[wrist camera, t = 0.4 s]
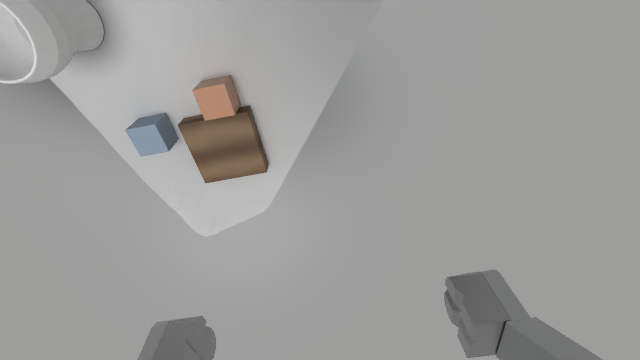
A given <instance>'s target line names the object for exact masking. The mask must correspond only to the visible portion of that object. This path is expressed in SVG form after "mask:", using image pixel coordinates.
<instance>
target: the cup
mask: <svg viewBox="0 0 640 360" xmlns="http://www.w3.org/2000/svg"><path fill="white" fill-rule="evenodd" d="M103 36H104V29H103V24H102V21H101V18H100V17H99V15H98V13H97V12H96V10H95V9H94V8H93V7H92V6H91V4H90V3H88V2H87V1H86V0H0V82H1V83H28V82H38V81H41V80H44V79H46V78H49V77H52V76H55V75H57V74H58V73H59V72H61V71H62V70H63V69H64V68H65V67H66V66H67V65H68V63H69V62H70V61H71V59H72V57H73V55H74V52H75V51H89V50H92V49H95V48H97V47H98V46H99V45H100V44H101V42H102V40H103Z"/></svg>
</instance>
